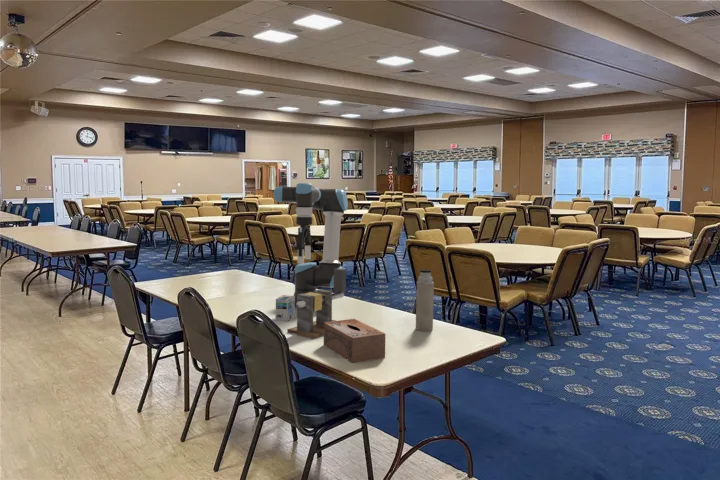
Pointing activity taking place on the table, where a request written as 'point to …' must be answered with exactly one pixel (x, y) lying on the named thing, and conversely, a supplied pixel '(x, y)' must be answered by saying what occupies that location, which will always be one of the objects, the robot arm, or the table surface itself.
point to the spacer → (316, 301)
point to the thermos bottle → (424, 301)
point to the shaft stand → (306, 316)
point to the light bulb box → (285, 307)
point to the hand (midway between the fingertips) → (304, 261)
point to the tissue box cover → (354, 340)
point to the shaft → (338, 287)
